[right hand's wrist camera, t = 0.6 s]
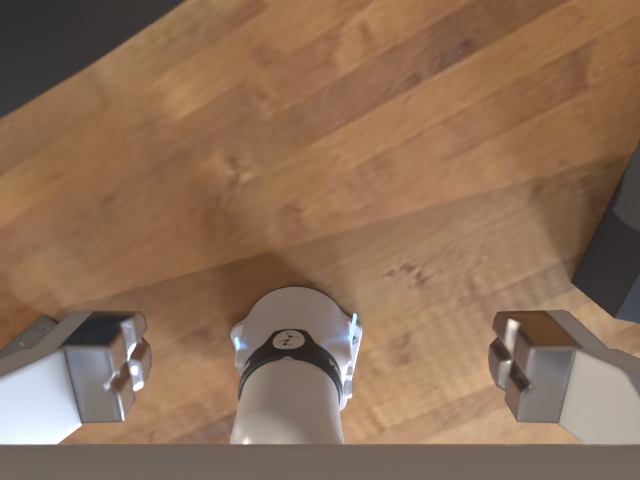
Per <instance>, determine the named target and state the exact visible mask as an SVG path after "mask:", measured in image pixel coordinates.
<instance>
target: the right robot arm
mask: <svg viewBox="0 0 640 480" xmlns="http://www.w3.org/2000/svg"><path fill="white" fill-rule="evenodd" d="M146 330H147V323H146V318H145V315H144V314H143V313H142V312H141V311H101V310H99V311H97V310H78V311H72V312H70V313H69V314H68V315H67V316H66V317H65V318H64V319H63V320H62V321H61V322H60V323H58V324H57V325H56V326H55V327H54V328H53V329H52V330H51V331H50V332H49V333H48V334H46V335H45V336H44V337H43V338H42V339H41V340H40V341H39V342H38V343H37V344H36V345H34V346H33V347H32V348H31V349H22V350H20V351H17V352H15V353H12V354H10V355H8V356H5V357H3V358H0V480H640V358H637V357H635V356H632V355H630V354H628V353H625V352H623V351H620V350H618V349H609V348H608V347H607V346H606V345H605V344H603V343H602V342H601V341H600V340H599V339H598V338H597V337H596V336H595V335H594V334H593V333H591V332H590V331H589V330H588V329H587V328H586V327H585V326H584V325H583V324H582V323H581V322H579V321H578V320H577V319H576V318H575V317H574V316H573V315H572V314H571V313H570V312H568V311H565V310H549V311H545V310H543V311H502V312H497V314H496V316H495V318H494V322H493V330H494V332H495V333H496V335H497V336H498V337H497V338H496V339H495V340H494V341H493V342H492V343H491V344H490V347H489V355H488V361H489V370H490V373H491V376H492V379H493V381H494V382H495V384H496V386H497V387H499V388H500V389H502V390H504V391H505V392H506V394H505V402H506V403H507V405H508V407H509V408H510V410H511V412H512V413H513V415H514V417H515V419H516V420H517V422H529V423H559V424H558V425H559V426H560V427H562V428H563V429H564V430H565V431H567V432H568V433H569V434H571V435H572V436H573V437H575V438H576V439H577V440H579V441H580V442H581V443H583V444H345V443H344V438H343V433H342V427H341V421H340V412H339V411H340V410H341V409H343V408H344V407H345V405H346V401H347V398H351V397H352V392H353V382H352V381H351V379H352V375H353V371H354V366H355V362H356V358H357V353H358V349H359V344H360V340H361V336H362V326H361V324H360V323H359V322H357V321H356V314H354V315H353V319H352V318H350V317H348V316H346V315H345V314H344V313H343V312H342V311H341V309H340V308H339V307H338V306H337V304H336V303H335V302H334V301H333V300H331V299H330V298H329V297H328V296H326V295H324V294H323V293H321V292H319V291H316V290H313V289H310V288H305V287H286V288H281V289H278V290H275V291H272V292H270V293H268V294H267V295H265V296H264V297H262V298H261V299H260V300H259V301H258V302H257V303H256V304H255V305H254V306H253V308H252V309H251V311H250V313H249V314H248V315H247V317H246V318H245V319H243V320H242V321H240V322H238V323H237V324H236V325H234V326H233V327H232V329H231V333H230V337H231V340H232V343H233V346H234V348H235V351H236V355H235V361H234V363H235V366H236V367H237V368H238V371H239V374H240V376H241V377H240V381H239V391H238V399H239V405H238V409H237V413H236V418H235V422H234V426H233V430H232V434H231V439H230V444H57V443H59V442H60V441H61V440H63V439H64V438H65V437H67V436H68V435H69V434H71V433H72V432H73V431H75V430H76V429H77V428H79V427H80V426H81V425H82V424H81V423H110V422H123V420H124V419H125V417H126V415H127V414H128V412H129V410H130V408H131V407H132V405H133V403H134V402H135V394H134V392H135V391H136V390H138V389H140V388H141V387H143V386H144V384H145V382H146V381H147V379H148V377H149V373H150V368H151V360H152V354H151V347H150V344H149V343H148V342H147V341H146V340H145V339H144V338H143V337H142V336H143V335H144V333H145V332H146ZM353 336H354V338H353Z"/></svg>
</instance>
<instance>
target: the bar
mask: <svg viewBox="0 0 640 480" xmlns="http://www.w3.org/2000/svg"><path fill="white" fill-rule="evenodd" d="M571 283H572V284H573V285H575V286H576V287H577V288H578V289H579V290H581V291H582V292H583V293H584V294H585V295H587V296H588V297H589V298H590V299H591V300H593V301H594V302H595V303H596V304H598V305H599V306H600V307H601V308H602V309H604V310H605V311H606V312H607V313H608V314H610V315H611V316H612V317H613V318H614V319H619V320H624V321H628V322H633V323H638V324H640V142H639V144H638V146H637V148H636V150H635V152H634V154H633V156H632V158H631V160H630V162H629V164H628V166H627V168H626V170H625V172H624V175H623V177H622V179H621V181H620V183H619V185H618V187H617V189H616V191H615V193H614V195H613V197H612V199H611V201H610V203H609V205H608V207H607V209H606V211H605V213H604V215H603V217H602V219H601V222H600V224H599V226H598V228H597V230H596V232H595V234H594V236H593V238H592V240H591V242H590V244H589V246H588V248H587V250H586V252H585V254H584V256H583V258H582V260H581V262H580V264H579V266H578V268H577V271H576V273H575V275H574V277H573V279H572V281H571Z"/></svg>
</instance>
